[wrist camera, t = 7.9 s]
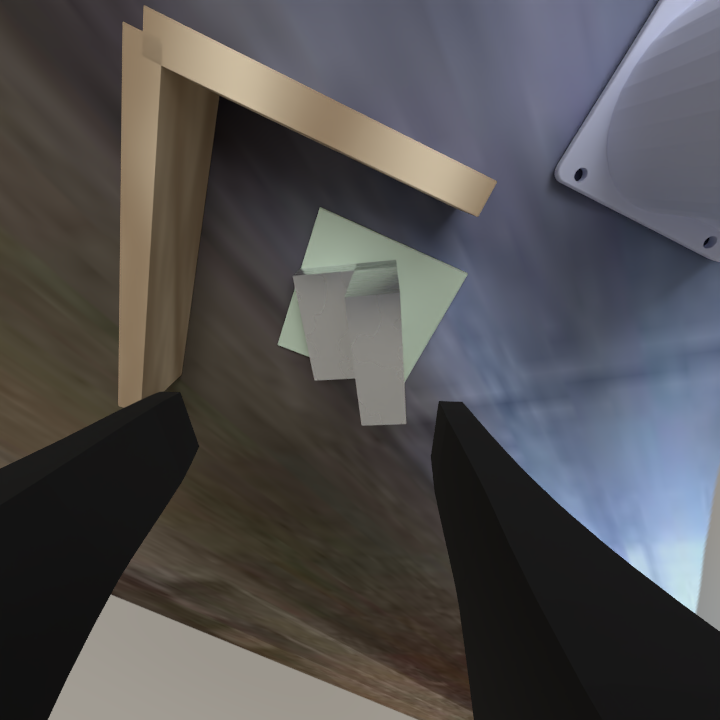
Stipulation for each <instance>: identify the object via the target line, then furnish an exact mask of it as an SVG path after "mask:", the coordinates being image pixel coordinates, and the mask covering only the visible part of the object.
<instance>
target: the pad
mask: <svg viewBox="0 0 720 720" xmlns="http://www.w3.org/2000/svg"><path fill="white" fill-rule="evenodd" d="M387 260H396V264H397V272H398V280H399V288H400V301H401V322H402V344H403V365H404V382H405V381H406V379H407V377H408V376H409V374H410V372H411V371H412V369H413V367H414V365H415V364H416V362H417V360H418V359H419V357H420V355H421V353H422V352H423V350H424V348H425V347H426V345H427V343H428V341H429V340H430V338H431V336H432V335H433V333H434V331H435V329H436V328H437V326H438V324H439V323H440V321H441V319H442V318H443V316H444V314H445V312H446V311H447V309H448V307H449V306H450V304H451V302H452V300H453V299H454V297H455V295H456V294H457V292H458V290H459V288H460V287H461V285H462V283H463V282H464V280H465V278H466V276H467V275H468V274H467V273H466V272H464V271H462V270H459V269H457V268H455V267H453V266H451V265H448V264H446V263H444V262H442V261H439V260H437V259H435V258H433V257H431V256H428V255H426V254H424V253H422V252H419V251H417V250H415V249H413V248H411V247H408V246H406V245H404V244H402V243H399V242H397V241H395V240H393V239H391V238H388V237H386V236H384V235H382V234H379V233H377V232H375V231H373V230H371V229H368V228H366V227H364V226H362V225H359V224H357V223H355V222H353V221H351V220H348V219H346V218H344V217H342V216H339V215H337V214H335V213H333V212H331V211H328V210H326V209H324V208H322V207H320V208H319V212H318V215H317V218H316V221H315V225H314V228H313V231H312V234H311V238H310V241H309V244H308V248H307V251H306V254H305V257H304V261H303V264H302V267H301V269H302V268H313V267H323V266H334V265H344V264H355V263H366V262H376V261H387ZM278 345H279V346H282V347H285V348H287V349H290V350H292V351H295V352H298V353H300V354H303V355H305V356H308V357H309V352H308V347H307V342H306V338H305V333H304V328H303V323H302V319H301V314H300V309H299V304H298V300H297V295H296V290H294V293H293V296H292V300H291V303H290V306H289V309H288V313H287V316H286V319H285V322H284V326H283V329H282V332H281V335H280V339H279V342H278Z"/></svg>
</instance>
